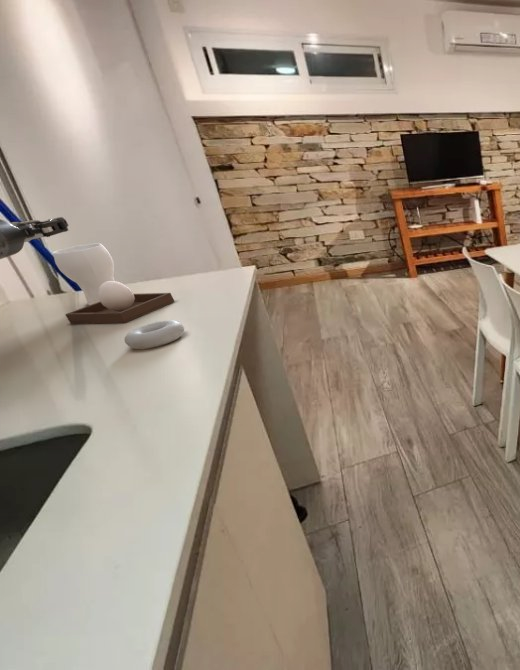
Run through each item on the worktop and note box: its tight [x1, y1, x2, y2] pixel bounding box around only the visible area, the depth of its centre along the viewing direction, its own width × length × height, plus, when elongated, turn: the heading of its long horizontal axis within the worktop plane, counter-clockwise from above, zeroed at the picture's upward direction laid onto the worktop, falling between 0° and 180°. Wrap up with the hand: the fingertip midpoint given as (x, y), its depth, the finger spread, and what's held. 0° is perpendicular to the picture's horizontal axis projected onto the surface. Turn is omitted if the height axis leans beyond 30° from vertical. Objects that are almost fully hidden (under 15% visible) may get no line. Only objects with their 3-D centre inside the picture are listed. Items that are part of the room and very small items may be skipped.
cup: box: [52, 242, 116, 306], centre depth 129 cm, size 11×11×15 cm
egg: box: [98, 280, 135, 311], centre depth 121 cm, size 6×6×8 cm
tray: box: [64, 292, 176, 325], centre depth 122 cm, size 16×14×3 cm
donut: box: [124, 319, 185, 350], centre depth 103 cm, size 10×3×10 cm
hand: (39, 224), depth 102 cm, fingers open, 8 cm apart
